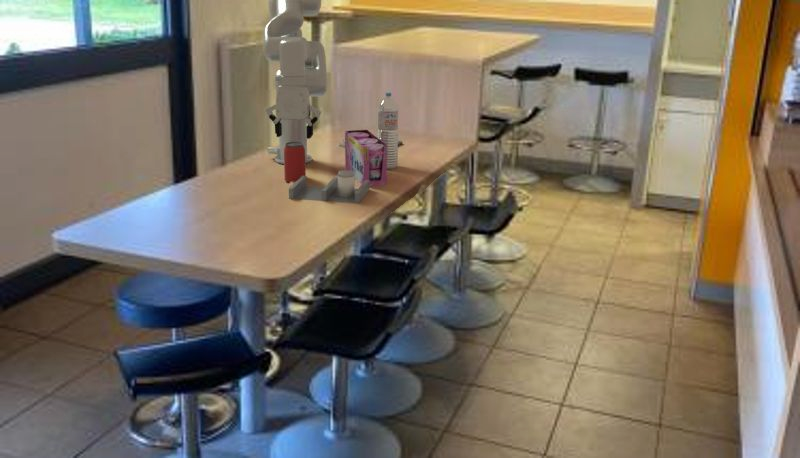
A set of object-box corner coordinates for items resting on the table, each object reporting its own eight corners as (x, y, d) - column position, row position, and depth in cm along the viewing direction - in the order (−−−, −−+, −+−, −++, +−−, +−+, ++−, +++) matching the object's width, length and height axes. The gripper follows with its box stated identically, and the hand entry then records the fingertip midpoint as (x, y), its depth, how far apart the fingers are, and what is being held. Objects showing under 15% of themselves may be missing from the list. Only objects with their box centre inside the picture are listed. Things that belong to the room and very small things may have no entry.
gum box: (388, 189, 249) (389, 145, 245) (364, 190, 247) (364, 147, 242) (367, 169, 271) (367, 129, 266) (344, 170, 268) (344, 130, 264)
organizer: (289, 201, 235) (288, 188, 234) (302, 188, 248) (302, 175, 247) (358, 206, 232) (359, 193, 230) (369, 192, 245) (369, 180, 243)
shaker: (335, 196, 237) (335, 173, 234) (339, 192, 241) (339, 169, 239) (352, 198, 236) (352, 174, 234) (356, 193, 241) (356, 170, 238)
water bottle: (398, 164, 276) (399, 91, 268) (396, 169, 270) (397, 95, 262) (378, 163, 277) (379, 90, 269) (376, 169, 271) (376, 94, 262)
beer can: (301, 184, 252) (301, 147, 247) (281, 183, 253) (280, 145, 249) (308, 179, 258) (307, 142, 254) (288, 177, 259) (287, 140, 255)
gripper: (261, 81, 242) (263, 138, 248) (317, 84, 240) (318, 141, 245) (269, 78, 249) (271, 133, 255) (323, 80, 247) (324, 136, 252)
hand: (294, 137), depth 250 cm, fingers open, 9 cm apart
